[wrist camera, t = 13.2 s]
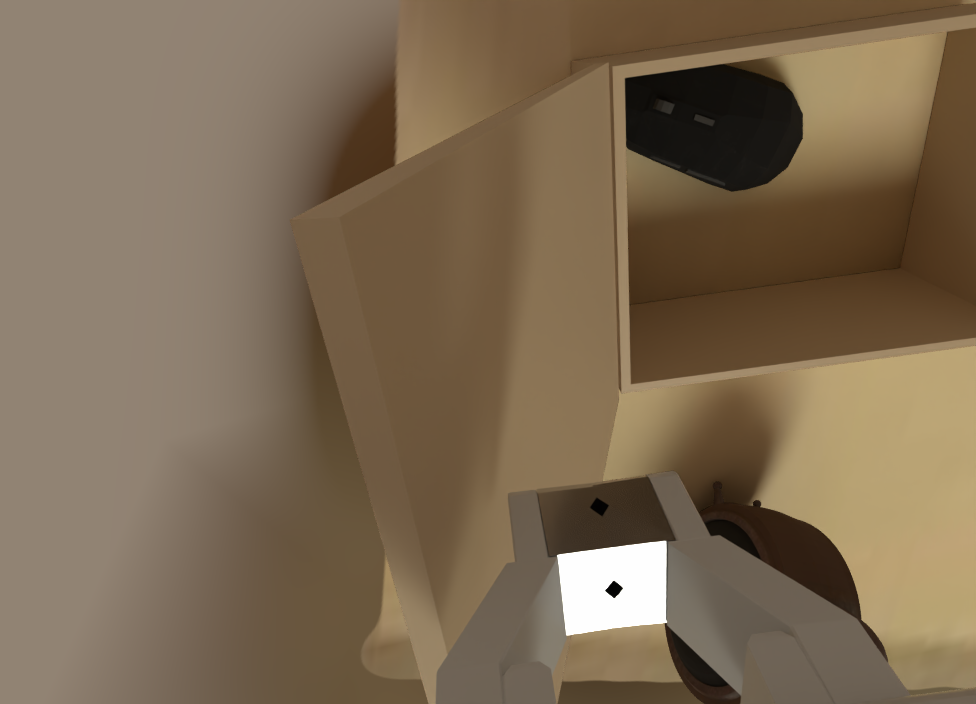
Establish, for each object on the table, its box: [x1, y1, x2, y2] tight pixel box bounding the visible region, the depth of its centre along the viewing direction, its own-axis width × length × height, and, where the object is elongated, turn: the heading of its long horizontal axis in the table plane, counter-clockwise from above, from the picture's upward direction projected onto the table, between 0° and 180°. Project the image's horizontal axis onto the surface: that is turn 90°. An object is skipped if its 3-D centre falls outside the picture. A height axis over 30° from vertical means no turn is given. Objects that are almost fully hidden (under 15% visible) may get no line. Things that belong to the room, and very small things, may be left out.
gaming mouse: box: [625, 64, 803, 191], centre depth 34 cm, size 6×15×4 cm, turn 73°
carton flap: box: [290, 62, 619, 704], centre depth 19 cm, size 22×16×1 cm
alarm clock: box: [665, 482, 888, 704], centre depth 41 cm, size 14×7×20 cm, turn 160°
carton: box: [571, 3, 976, 393], centre depth 32 cm, size 22×16×10 cm
